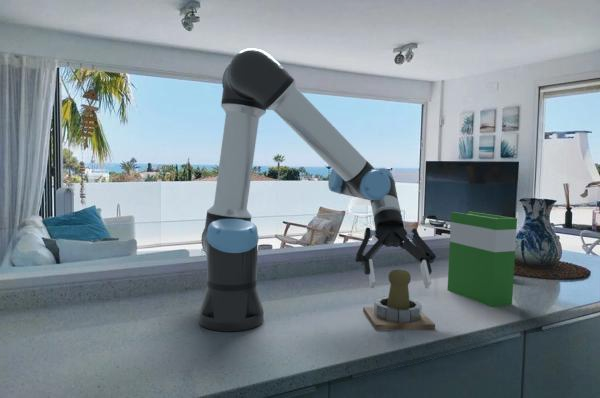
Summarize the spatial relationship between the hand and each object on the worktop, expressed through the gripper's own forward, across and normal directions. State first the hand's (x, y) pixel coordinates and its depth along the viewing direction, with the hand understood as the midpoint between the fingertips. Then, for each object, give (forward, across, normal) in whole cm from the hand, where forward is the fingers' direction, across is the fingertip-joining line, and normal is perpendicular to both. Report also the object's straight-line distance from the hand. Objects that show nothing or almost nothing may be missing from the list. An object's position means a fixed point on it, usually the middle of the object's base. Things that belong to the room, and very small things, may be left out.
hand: (400, 285), depth 111 cm
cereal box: (-8, -29, -21) cm, 37 cm away
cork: (+5, 0, -6) cm, 8 cm away
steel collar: (+5, 0, -5) cm, 7 cm away
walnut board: (+6, 0, -6) cm, 9 cm away
